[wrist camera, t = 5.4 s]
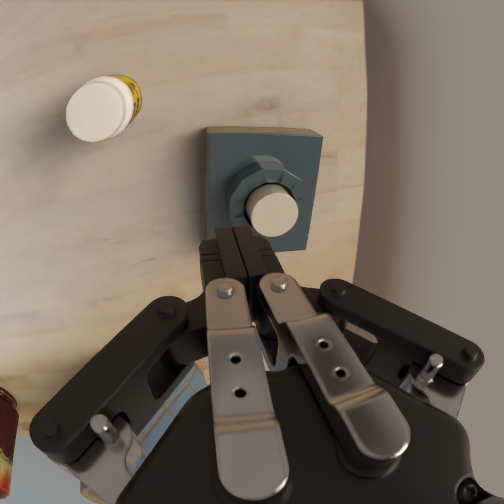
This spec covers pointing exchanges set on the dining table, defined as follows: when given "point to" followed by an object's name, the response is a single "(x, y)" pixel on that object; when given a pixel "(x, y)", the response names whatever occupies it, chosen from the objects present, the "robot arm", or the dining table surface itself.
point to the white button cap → (271, 210)
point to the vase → (7, 439)
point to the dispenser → (260, 176)
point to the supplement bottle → (103, 107)
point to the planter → (160, 421)
